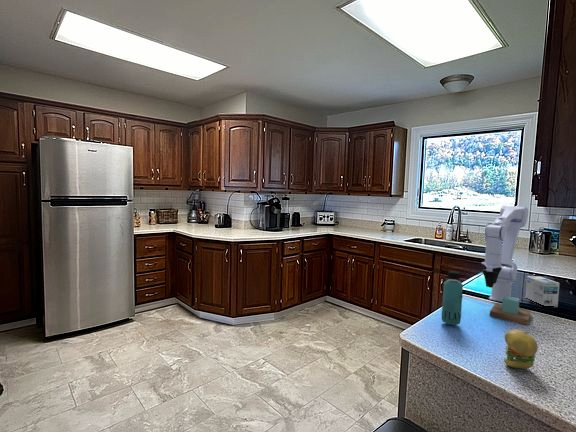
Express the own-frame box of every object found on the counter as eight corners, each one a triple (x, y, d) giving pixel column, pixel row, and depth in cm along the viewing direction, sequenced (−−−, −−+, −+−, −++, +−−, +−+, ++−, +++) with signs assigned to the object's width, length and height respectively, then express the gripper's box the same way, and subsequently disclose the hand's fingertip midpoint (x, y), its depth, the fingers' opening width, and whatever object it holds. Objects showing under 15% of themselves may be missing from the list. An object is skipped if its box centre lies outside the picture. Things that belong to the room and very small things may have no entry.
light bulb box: (558, 307, 136) (560, 282, 135) (542, 307, 136) (544, 282, 135) (539, 298, 146) (541, 275, 145) (524, 298, 147) (526, 275, 146)
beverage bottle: (440, 326, 115) (443, 272, 113) (441, 320, 120) (444, 268, 119) (460, 330, 112) (464, 275, 110) (460, 323, 117) (464, 270, 116)
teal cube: (503, 307, 129) (504, 295, 128) (518, 310, 126) (519, 298, 125) (501, 310, 125) (502, 298, 125) (517, 314, 122) (518, 301, 121)
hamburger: (521, 361, 92) (525, 321, 91) (542, 376, 85) (546, 333, 84) (496, 362, 92) (499, 321, 90) (514, 376, 84) (518, 333, 83)
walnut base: (494, 307, 134) (495, 303, 134) (530, 315, 126) (530, 310, 126) (489, 316, 125) (489, 311, 125) (527, 325, 117) (527, 319, 117)
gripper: (485, 249, 141) (483, 279, 142) (478, 254, 130) (476, 286, 132) (504, 252, 137) (502, 282, 138) (499, 257, 126) (496, 290, 127)
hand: (491, 285), depth 134 cm, fingers open, 7 cm apart
